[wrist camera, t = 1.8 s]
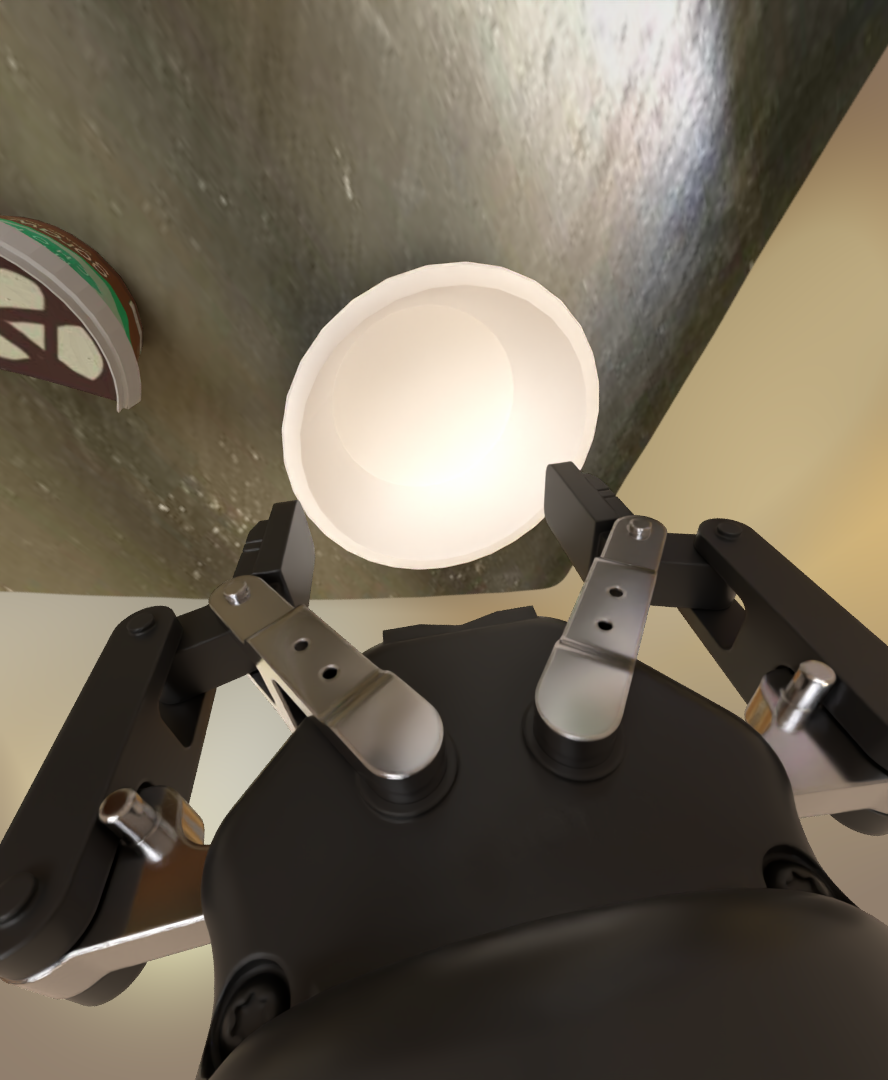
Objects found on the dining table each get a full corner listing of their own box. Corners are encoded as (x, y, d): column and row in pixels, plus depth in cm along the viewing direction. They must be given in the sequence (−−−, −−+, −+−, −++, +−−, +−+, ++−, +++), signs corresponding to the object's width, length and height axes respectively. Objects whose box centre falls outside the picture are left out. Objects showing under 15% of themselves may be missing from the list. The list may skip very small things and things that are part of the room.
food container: (184, 259, 27) (147, 293, 20) (168, 355, 30) (131, 416, 23) (-107, 130, 21) (-313, 108, 14) (-92, 264, 24) (-256, 306, 17)
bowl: (501, 518, 48) (533, 571, 42) (277, 507, 40) (276, 570, 33) (592, 285, 35) (658, 310, 29) (288, 198, 27) (290, 207, 21)
